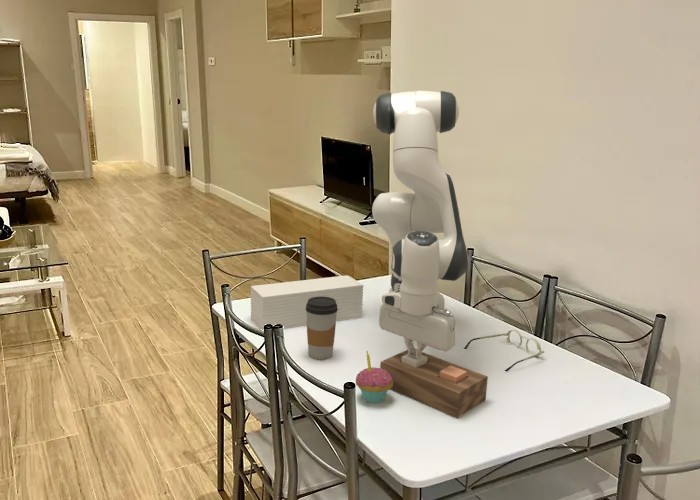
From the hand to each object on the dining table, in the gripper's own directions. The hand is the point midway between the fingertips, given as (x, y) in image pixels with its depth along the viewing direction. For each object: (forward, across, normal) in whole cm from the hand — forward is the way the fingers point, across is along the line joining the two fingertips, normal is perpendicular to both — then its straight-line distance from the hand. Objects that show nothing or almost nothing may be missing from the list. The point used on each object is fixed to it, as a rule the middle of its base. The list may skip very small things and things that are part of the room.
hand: (414, 356), depth 154 cm
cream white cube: (+4, 0, 0) cm, 4 cm away
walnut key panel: (+7, -6, 0) cm, 9 cm away
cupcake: (+8, +2, +12) cm, 14 cm away
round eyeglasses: (+8, -6, -32) cm, 34 cm away
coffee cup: (+7, +28, +4) cm, 29 cm away
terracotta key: (+4, -11, 0) cm, 12 cm away
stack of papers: (+8, +49, -12) cm, 51 cm away
